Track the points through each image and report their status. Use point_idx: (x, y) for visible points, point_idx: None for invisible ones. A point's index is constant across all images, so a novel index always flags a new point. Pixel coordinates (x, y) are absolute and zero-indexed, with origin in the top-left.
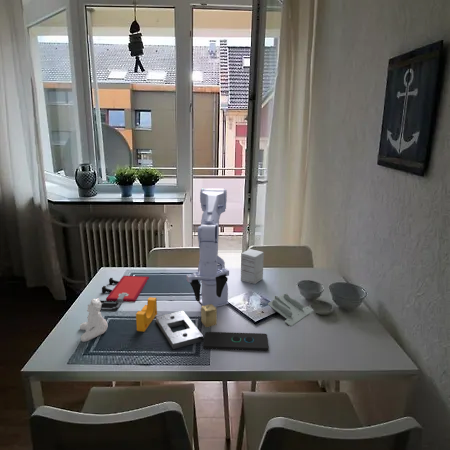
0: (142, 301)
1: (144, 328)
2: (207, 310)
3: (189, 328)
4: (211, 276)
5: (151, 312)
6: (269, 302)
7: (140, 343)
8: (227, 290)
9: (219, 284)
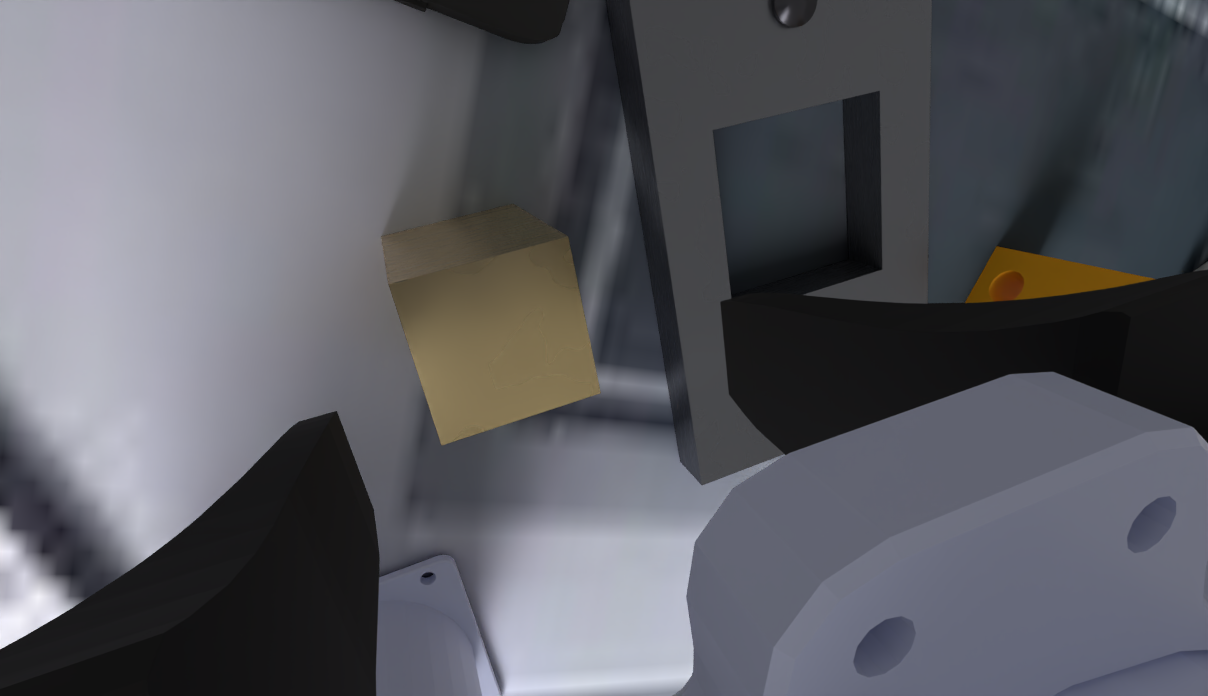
0: None
1: (1016, 256)
2: (540, 259)
3: (721, 127)
4: (1078, 606)
5: None
6: None
7: (1062, 77)
8: None
9: (301, 622)
